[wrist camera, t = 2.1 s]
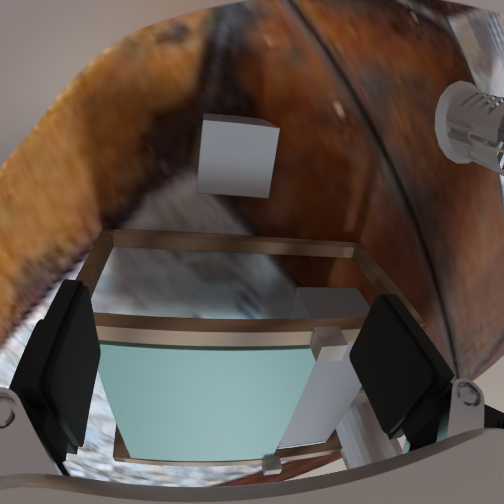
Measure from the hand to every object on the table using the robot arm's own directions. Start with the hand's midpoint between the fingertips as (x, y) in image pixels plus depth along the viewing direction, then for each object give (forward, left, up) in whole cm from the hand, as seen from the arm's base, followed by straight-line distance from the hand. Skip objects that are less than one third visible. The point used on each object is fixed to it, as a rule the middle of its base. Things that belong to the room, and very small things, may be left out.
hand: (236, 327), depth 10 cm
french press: (-25, -9, -20) cm, 33 cm away
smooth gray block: (-1, -2, -20) cm, 20 cm away
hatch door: (-3, +17, -14) cm, 22 cm away
